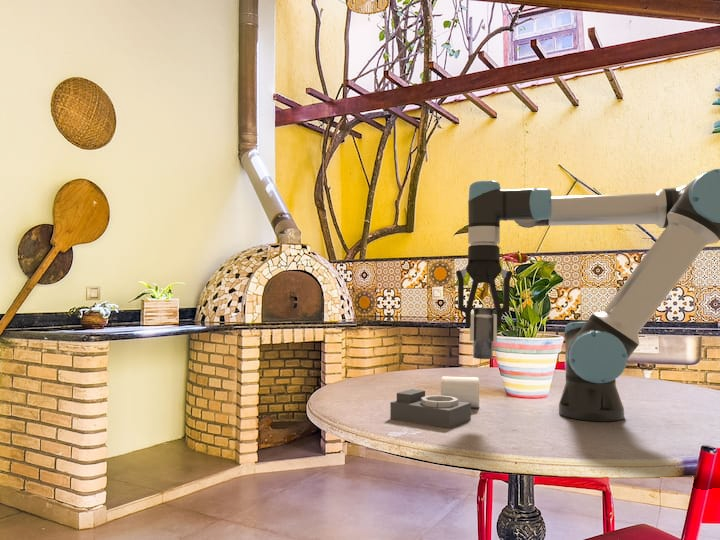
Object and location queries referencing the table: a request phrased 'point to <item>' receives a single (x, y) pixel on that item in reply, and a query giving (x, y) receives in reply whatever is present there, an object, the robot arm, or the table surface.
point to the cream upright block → (461, 389)
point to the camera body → (429, 409)
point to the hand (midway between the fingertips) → (483, 340)
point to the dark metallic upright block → (483, 333)
